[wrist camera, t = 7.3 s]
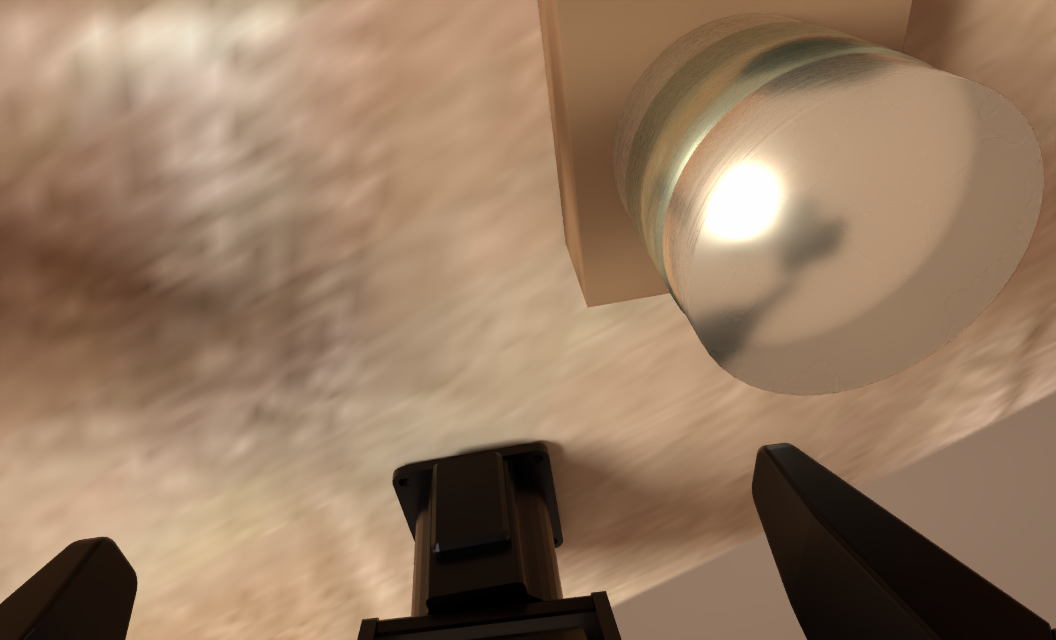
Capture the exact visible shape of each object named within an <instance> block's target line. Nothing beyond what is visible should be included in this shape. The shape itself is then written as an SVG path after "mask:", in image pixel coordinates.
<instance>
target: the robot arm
mask: <svg viewBox="0 0 1056 640" xmlns="http://www.w3.org/2000/svg"><path fill="white" fill-rule="evenodd" d="M534 455H539V456H534ZM402 478H408V479H402ZM393 486H394V489H395V492H396V494H397V497H398V499H399V502H400V505H401V507H402V510H403V513H404V515H405V518H406V520H407V523H408V526H409V528H410V531H411V533H412V536H413V539H414V541H415V554H414V573H413V593H412V612H411V617H402V618H394V619H385V620H379V618H370V619H363V620H362V623H361V627H360V631H359V635H358V639H357V640H621V637H620V634H619V631H618V628H617V625H616V622H615V618H614V615H613V612H612V609H611V606H610V603H609V600H608V596H607V593H606V591H602V592H593V593H591V595H590V596H582V597H573V598H565V599H563V594H562V588H561V582H560V576H559V570H558V563H557V557H556V551H555V548H557V547H559V546H560V545H561V544H562V543H563V537H562V531H561V525H560V519H559V513H558V507H557V501H556V495H555V489H554V483H553V477H552V471H551V465H550V459H549V454H548V449H547V447H546V446H545V445H543V444H540V443H534V444H528V445H522V446H517V447H511V448H505V449H499V450H494V451H488V452H482V453H477V454H471V455H465V456H460V457H454V458H448V459H443V460H437V461H431V462H426V463H420V464H414V465H409V466H403V467H400V468H397V469H396V470H395V471H394V473H393ZM752 495H753V499H754V503H755V506H756V509H757V511H758V514H759V517H760V520H761V523H762V526H763V528H764V531H765V534H766V537H767V540H768V543H769V546H770V548H771V551H772V554H773V557H774V560H775V562H776V565H777V568H778V571H779V574H780V577H781V580H782V582H783V585H784V588H785V591H786V593H787V596H788V599H789V601H790V604H791V606H792V608H793V610H794V613H795V615H796V617H797V619H798V621H799V624H800V626H801V627H802V630H803V632H804V634H805V636H806V638H807V640H1056V628H1054V629H1051V626H1050V624H1049V623H1048V622H1046V621H1045V620H1044V619H1042V618H1041V617H1039V616H1038V615H1037V614H1035V613H1034V612H1032V611H1031V610H1029V609H1028V608H1026V607H1025V606H1023V605H1022V604H1021V603H1019V602H1018V601H1016V600H1015V599H1013V598H1012V597H1011V596H1009V595H1008V594H1006V593H1005V592H1003V591H1002V590H1001V589H999V588H998V587H996V586H995V585H993V584H992V583H991V582H989V581H988V580H986V579H985V578H983V577H982V576H980V575H979V574H978V573H976V572H975V571H973V570H972V569H970V568H969V567H968V566H966V565H965V564H963V563H962V562H960V561H959V560H957V559H956V558H954V557H953V556H952V555H950V554H949V553H947V552H946V551H944V550H943V549H942V548H940V547H939V546H937V545H936V544H934V543H933V542H932V541H930V540H929V539H927V538H926V537H924V536H923V535H922V534H920V533H919V532H917V531H916V530H914V529H913V528H911V527H910V526H909V525H907V524H906V523H904V522H903V521H901V520H900V519H899V518H897V517H896V516H894V515H893V514H891V513H890V512H888V511H887V510H886V509H884V508H883V507H881V506H880V505H878V504H877V503H875V502H874V501H873V500H871V499H870V498H868V497H867V496H865V495H864V494H862V493H861V492H860V491H858V490H857V489H855V488H854V487H853V486H851V485H850V484H848V483H847V482H845V481H844V480H842V479H841V478H840V477H838V476H837V475H835V474H834V473H832V472H831V471H830V470H828V469H827V468H825V467H824V466H822V465H821V464H819V463H818V462H817V461H815V460H814V459H812V458H811V457H809V456H808V455H807V454H805V453H804V452H802V451H801V450H799V449H798V448H796V447H795V446H793V445H791V444H789V443H779V444H772V445H765V446H762V447H760V449H759V450H758V453H757V457H756V463H755V469H754V475H753V481H752ZM136 592H137V576H136V573H135V571H134V569H133V567H132V566H131V565H130V563H129V562H128V560H127V559H126V557H125V556H124V555H123V553H122V552H121V550H120V549H119V547H118V546H117V545H116V543H115V542H114V541H113V540H112V539H110V538H108V537H97V538H89V539H82V540H78V541H75V542H73V543H71V544H70V545H69V546H67V547H66V548H65V549H64V550H63V551H61V552H60V553H59V554H58V555H57V556H56V557H54V558H53V559H52V560H51V561H50V562H49V563H47V564H46V565H45V566H44V567H43V568H42V569H40V570H39V571H38V572H37V573H36V574H35V575H33V576H32V577H31V578H30V579H29V580H28V581H26V582H25V583H24V584H23V585H22V586H21V587H19V588H18V589H17V590H16V591H15V592H14V593H12V594H11V595H10V596H9V597H8V598H7V599H5V600H4V601H3V602H2V603H1V604H0V640H125V639H126V635H127V631H128V626H129V622H130V618H131V613H132V609H133V605H134V600H135V596H136Z"/></svg>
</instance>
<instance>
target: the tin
mask: <svg viewBox="0 0 1056 640" xmlns="http://www.w3.org/2000/svg"><path fill="white" fill-rule="evenodd" d="M612 167H613V174H614V181H615V185H616V188H617V192H618V195H619V197H620V199H621V202H622V204H623V206H624V208H625V210H626V212H627V213H628V215H629V217H630V219H631V222H632V224H633V226H634V228H635V231H636V233H637V235H638V237H639V239H640V240H641V242H642V244H643V246H644V247H645V249H646V251H647V253H648V255H649V256H650V258H651V260H652V262H653V263H654V265H655V267H656V269H657V270H658V272H659V274H660V276H661V278H662V279H663V281H664V283H665V285H666V286H667V288H668V290H669V292H670V293H671V295H672V297H673V298H674V300H675V301H676V303H677V305H678V306H679V308H680V309H681V310H682V311H683V313H684V314H685V315H686V316H687V318H688V320H689V321H690V323H691V325H692V327H693V328H694V330H695V332H696V334H697V335H698V337H699V339H700V341H701V342H702V344H703V345H704V347H705V348H706V350H707V352H708V353H709V355H710V356H711V357H712V358H713V359H714V360H715V361H716V362H717V363H718V364H719V365H720V366H721V367H722V368H723V369H724V370H726V371H727V372H728V373H730V374H731V375H732V376H734V377H735V378H737V379H739V380H741V381H743V382H745V383H747V384H749V385H751V386H754V387H757V388H760V389H763V390H766V391H771V392H776V393H780V394H791V395H821V394H829V393H836V392H841V391H846V390H850V389H855V388H859V387H862V386H865V385H868V384H871V383H874V382H877V381H880V380H882V379H885V378H887V377H889V376H892V375H894V374H897V373H899V372H901V371H903V370H905V369H906V368H908V367H910V366H912V365H914V364H916V363H918V362H920V361H921V360H923V359H924V358H926V357H928V356H929V355H931V354H932V353H934V352H936V351H937V350H938V349H940V348H941V347H943V346H944V345H945V344H947V343H948V342H949V341H951V340H952V339H953V338H955V337H956V336H957V335H958V334H959V333H960V332H962V331H963V330H964V329H965V328H966V327H967V326H969V325H970V324H971V323H972V322H973V321H974V320H975V319H976V318H977V317H978V316H979V315H980V314H981V313H982V312H983V311H984V310H985V309H986V308H987V307H988V306H989V304H990V303H991V302H992V301H993V300H994V298H995V297H996V296H997V295H998V294H999V292H1000V291H1001V290H1002V289H1003V287H1004V286H1005V284H1006V283H1007V281H1008V280H1009V278H1010V277H1011V276H1012V274H1013V273H1014V271H1015V270H1016V268H1017V266H1018V264H1019V262H1020V261H1021V259H1022V257H1023V255H1024V253H1025V252H1026V250H1027V247H1028V245H1029V243H1030V240H1031V238H1032V235H1033V233H1034V231H1035V228H1036V224H1037V221H1038V217H1039V214H1040V210H1041V204H1042V198H1043V191H1044V167H1043V161H1042V155H1041V150H1040V146H1039V144H1038V141H1037V139H1036V136H1035V133H1034V131H1033V129H1032V128H1031V126H1030V124H1029V123H1028V121H1027V120H1026V118H1025V117H1024V115H1023V114H1022V113H1021V112H1020V111H1019V110H1018V109H1017V108H1016V107H1015V106H1014V105H1013V104H1012V103H1011V102H1010V101H1009V100H1008V99H1007V98H1005V97H1004V96H1002V95H1001V94H999V93H998V92H996V91H994V90H993V89H991V88H989V87H986V86H984V85H981V84H979V83H976V82H974V81H972V80H969V79H966V78H963V77H960V76H957V75H954V74H951V73H948V72H946V71H943V70H940V69H937V68H934V67H933V66H931V65H930V64H928V63H926V62H924V61H922V60H919V59H917V58H915V57H912V56H910V55H907V54H904V53H901V52H898V51H895V50H892V49H889V48H886V47H884V46H881V45H878V44H875V43H872V42H869V41H866V40H863V39H860V38H857V37H854V36H851V35H848V34H845V33H842V32H839V31H836V30H833V29H830V28H827V27H824V26H820V25H816V24H811V23H806V22H801V21H798V20H795V19H792V18H790V17H786V16H782V15H777V14H773V13H758V12H753V13H743V14H735V15H731V16H727V17H723V18H719V19H717V20H714V21H711V22H709V23H706V24H704V25H701V26H700V27H698V28H696V29H694V30H692V31H690V32H688V33H687V34H685V35H684V36H682V37H681V38H679V39H678V40H677V41H675V42H674V43H672V44H671V45H670V46H669V47H668V48H666V49H665V50H664V51H663V52H662V53H661V54H660V55H659V56H658V57H657V58H656V59H655V60H654V61H653V62H652V63H651V64H650V65H649V67H648V68H647V69H646V70H645V71H644V72H643V74H642V75H641V77H640V78H639V80H638V81H637V82H636V84H635V85H634V87H633V89H632V91H631V92H630V94H629V96H628V98H627V100H626V102H625V104H624V107H623V109H622V112H621V114H620V117H619V120H618V123H617V127H616V131H615V135H614V142H613V150H612Z"/></svg>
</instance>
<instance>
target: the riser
mask: <svg viewBox="0 0 1056 640" xmlns="http://www.w3.org/2000/svg"><path fill="white" fill-rule="evenodd" d="M911 5H912V0H538V6H539V14H540V23H541V32H542V41H543V49H544V58H545V67H546V75H547V84H548V93H549V101H550V110H551V119H552V127H553V136H554V145H555V154H556V162H557V171H558V180H559V188H560V197H561V206H562V214H563V223H564V232H565V241H566V246H567V249H568V251H569V254H570V257H571V260H572V263H573V266H574V269H575V272H576V275H577V278H578V281H579V283H580V286H581V289H582V292H583V295H584V298H585V301H586V304H587V307H593V306H598V305H604V304H610V303H616V302H621V301H627V300H633V299H639V298H644V297H650V296H656V295H662V294H668V293H670V292H669V290H668V288H667V286H666V285H665V283H664V281H663V279H662V278H661V276H660V274H659V272H658V270H657V269H656V267H655V265H654V263H653V262H652V260H651V258H650V256H649V255H648V253H647V251H646V249H645V247H644V246H643V244H642V242H641V240H640V239H639V237H638V235H637V233H636V231H635V228H634V226H633V224H632V222H631V219H630V217H629V215H628V213H627V212H626V210H625V208H624V206H623V204H622V202H621V199H620V197H619V195H618V192H617V188H616V185H615V181H614V174H613V167H612V150H613V142H614V135H615V131H616V127H617V123H618V120H619V117H620V114H621V112H622V109H623V107H624V104H625V102H626V100H627V98H628V96H629V94H630V92H631V91H632V89H633V87H634V85H635V84H636V82H637V81H638V80H639V78H640V77H641V75H642V74H643V72H644V71H645V70H646V69H647V68H648V67H649V65H650V64H651V63H652V62H653V61H654V60H655V59H656V58H657V57H658V56H659V55H660V54H661V53H662V52H663V51H664V50H665V49H666V48H668V47H669V46H670V45H671V44H672V43H674V42H675V41H677V40H678V39H679V38H681V37H682V36H684V35H685V34H687V33H688V32H690V31H692V30H694V29H696V28H698V27H700V26H701V25H704V24H706V23H709V22H711V21H714V20H717V19H719V18H723V17H727V16H731V15H735V14H743V13H753V12H758V13H773V14H777V15H782V16H786V17H790V18H792V19H795V20H798V21H801V22H806V23H811V24H816V25H820V26H824V27H827V28H830V29H833V30H836V31H839V32H842V33H845V34H848V35H851V36H854V37H857V38H860V39H863V40H866V41H869V42H872V43H875V44H878V45H881V46H884V47H886V48H889V49H892V50H895V51H898V52H901V53H903V48H904V42H905V37H906V32H907V26H908V21H909V16H910V10H911Z"/></svg>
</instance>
